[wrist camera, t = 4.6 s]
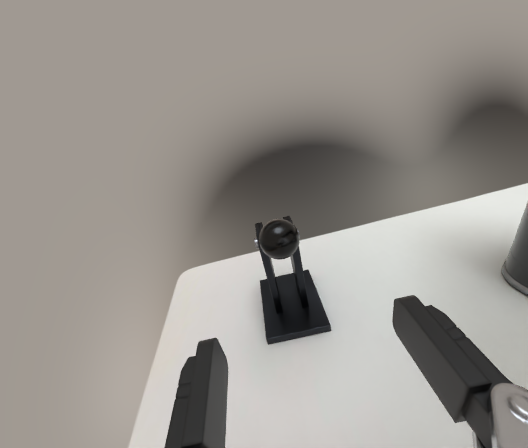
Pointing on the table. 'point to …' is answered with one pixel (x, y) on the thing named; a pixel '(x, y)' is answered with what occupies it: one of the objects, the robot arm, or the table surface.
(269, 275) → the lock bracket
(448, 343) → the robot arm
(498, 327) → the table surface
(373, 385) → the table surface
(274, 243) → the lever
